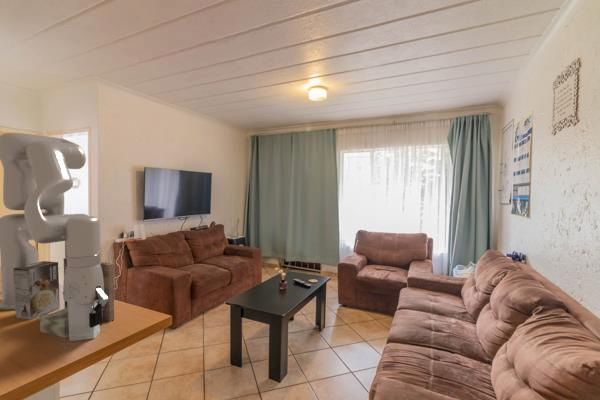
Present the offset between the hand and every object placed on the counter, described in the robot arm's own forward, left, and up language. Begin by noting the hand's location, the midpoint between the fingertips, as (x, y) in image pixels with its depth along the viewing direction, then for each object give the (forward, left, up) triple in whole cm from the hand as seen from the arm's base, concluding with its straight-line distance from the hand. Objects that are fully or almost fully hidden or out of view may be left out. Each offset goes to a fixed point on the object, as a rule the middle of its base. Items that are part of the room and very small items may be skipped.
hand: (85, 322), depth 81 cm
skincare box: (0, 0, -4) cm, 4 cm away
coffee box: (-29, +5, -4) cm, 29 cm away
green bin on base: (-12, +4, -4) cm, 13 cm away
